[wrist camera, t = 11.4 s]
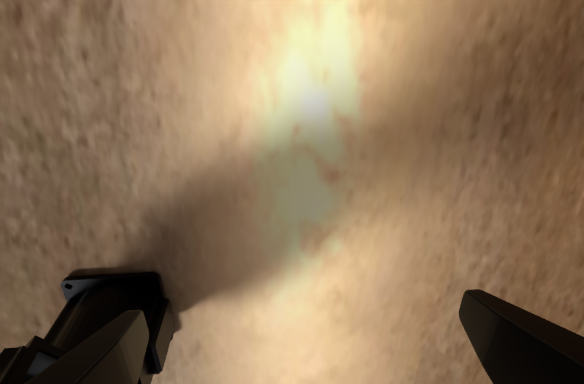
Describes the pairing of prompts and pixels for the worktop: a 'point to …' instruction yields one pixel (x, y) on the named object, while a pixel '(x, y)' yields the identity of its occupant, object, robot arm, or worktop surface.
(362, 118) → the worktop surface
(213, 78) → the worktop surface
